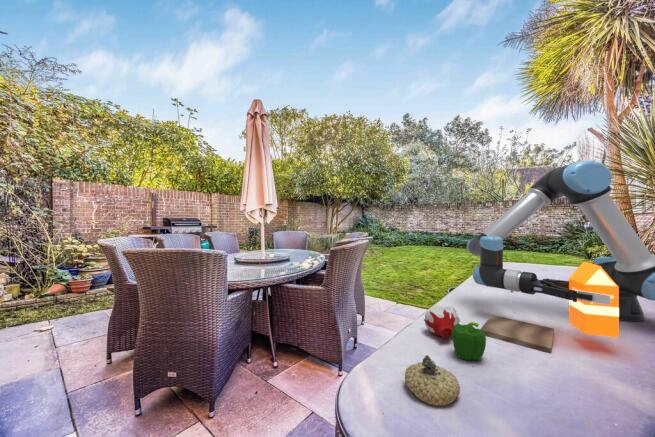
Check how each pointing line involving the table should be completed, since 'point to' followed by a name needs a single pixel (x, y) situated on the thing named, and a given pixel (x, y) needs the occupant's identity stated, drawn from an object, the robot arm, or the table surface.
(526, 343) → the board
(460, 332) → the bell pepper
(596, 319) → the orange juice
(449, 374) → the acorn cap
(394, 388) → the table surface
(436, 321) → the white red rounded lump
